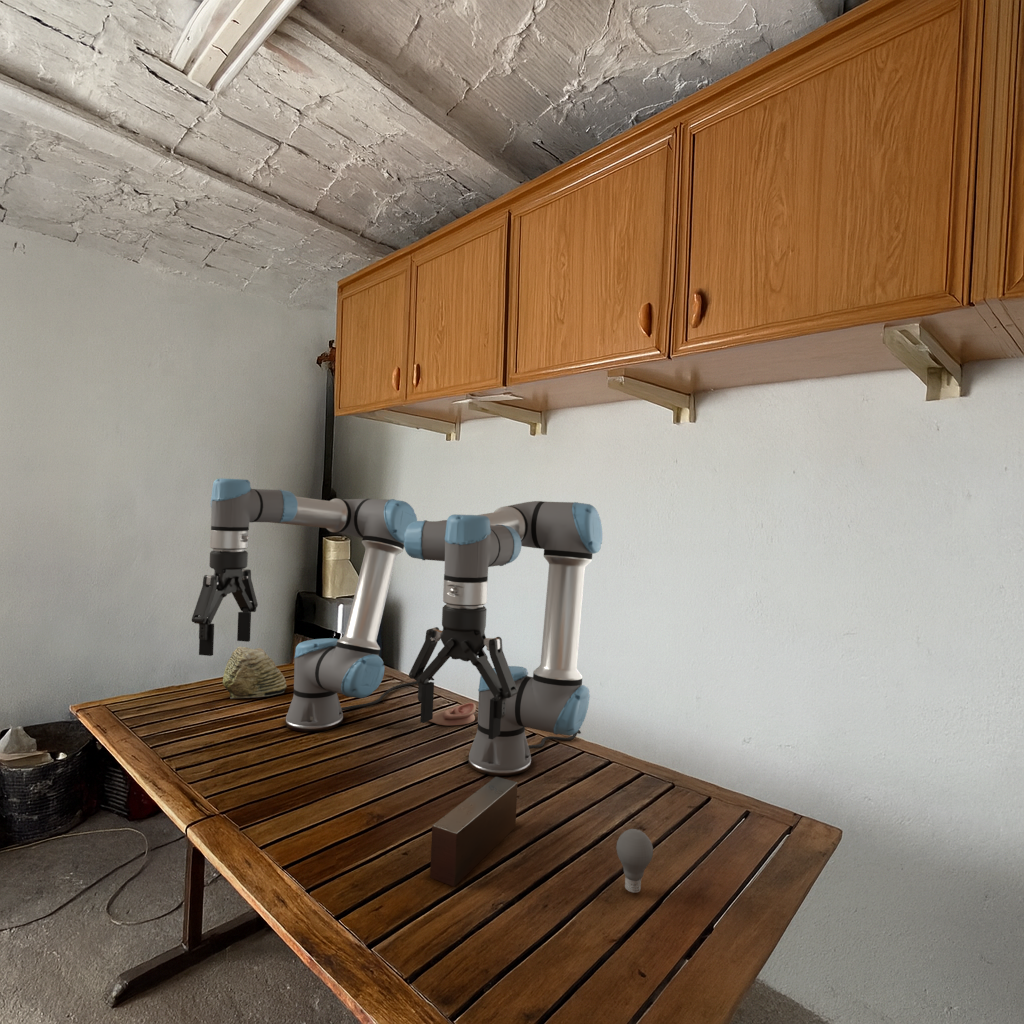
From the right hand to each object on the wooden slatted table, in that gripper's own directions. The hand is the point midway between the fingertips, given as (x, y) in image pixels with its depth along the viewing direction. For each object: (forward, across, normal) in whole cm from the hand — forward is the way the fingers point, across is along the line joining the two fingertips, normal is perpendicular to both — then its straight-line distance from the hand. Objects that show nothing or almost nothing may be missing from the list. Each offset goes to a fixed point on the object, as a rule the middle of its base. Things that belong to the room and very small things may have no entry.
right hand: (459, 728), depth 109 cm
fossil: (+25, -103, +48) cm, 116 cm away
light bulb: (+25, +28, +11) cm, 39 cm away
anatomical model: (+25, -40, +63) cm, 79 cm away
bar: (+25, 0, +8) cm, 26 cm away
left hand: (-5, -61, +2) cm, 61 cm away
